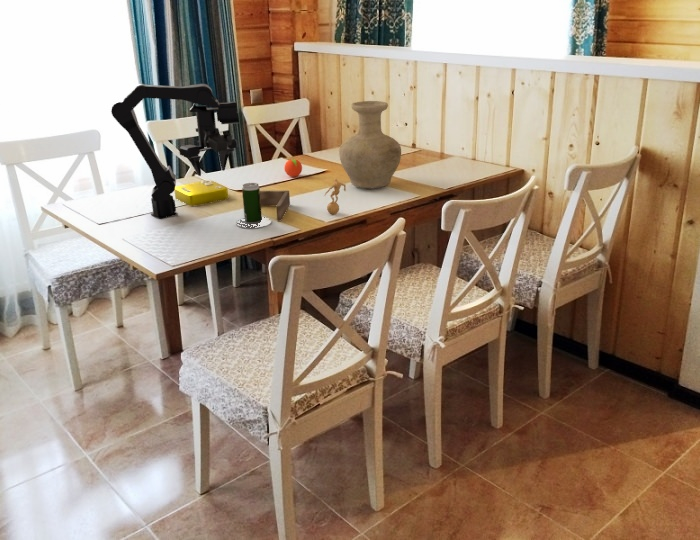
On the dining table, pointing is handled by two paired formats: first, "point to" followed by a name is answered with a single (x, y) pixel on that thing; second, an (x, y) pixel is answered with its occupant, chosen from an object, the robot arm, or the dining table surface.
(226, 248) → the dining table surface
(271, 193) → the corner niche
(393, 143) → the vase
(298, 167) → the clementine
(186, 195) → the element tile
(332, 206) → the figurine
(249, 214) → the beer can
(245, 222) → the coaster
